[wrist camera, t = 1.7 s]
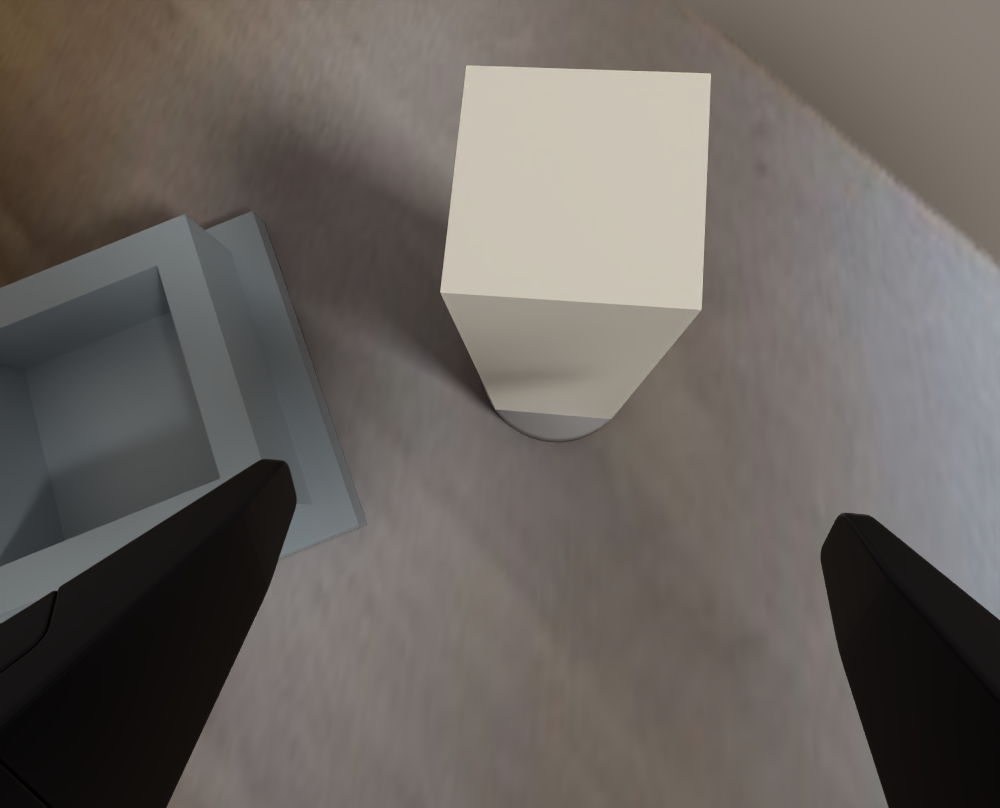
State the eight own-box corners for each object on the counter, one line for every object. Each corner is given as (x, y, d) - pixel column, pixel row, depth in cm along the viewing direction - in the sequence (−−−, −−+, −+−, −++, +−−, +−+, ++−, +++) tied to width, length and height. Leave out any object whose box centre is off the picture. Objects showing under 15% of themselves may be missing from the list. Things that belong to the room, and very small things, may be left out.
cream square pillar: (626, 448, 21) (755, 365, 9) (475, 435, 22) (384, 338, 9) (635, 302, 22) (762, 31, 10) (489, 293, 23) (425, 22, 10)
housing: (367, 524, 22) (328, 528, 18) (-86, 705, 22) (-226, 750, 18) (264, 222, 24) (209, 167, 20) (-144, 386, 24) (-278, 363, 20)
